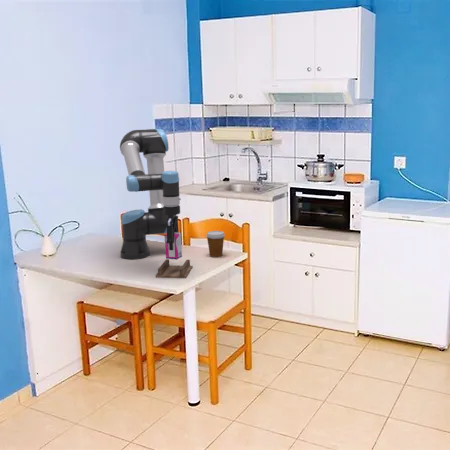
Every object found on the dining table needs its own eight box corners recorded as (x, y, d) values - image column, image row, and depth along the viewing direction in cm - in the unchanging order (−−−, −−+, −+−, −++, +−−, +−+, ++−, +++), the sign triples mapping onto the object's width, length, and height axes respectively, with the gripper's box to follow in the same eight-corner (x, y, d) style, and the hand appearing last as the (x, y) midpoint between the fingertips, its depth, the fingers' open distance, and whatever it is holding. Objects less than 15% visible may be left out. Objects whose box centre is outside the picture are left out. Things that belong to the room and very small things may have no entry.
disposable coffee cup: (218, 259, 282) (218, 235, 280) (203, 256, 287) (202, 233, 285) (228, 254, 290) (228, 231, 288) (213, 252, 295) (212, 229, 293)
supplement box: (171, 255, 264) (170, 231, 261) (182, 256, 261) (181, 232, 259) (165, 258, 258) (164, 234, 256) (176, 259, 256) (175, 235, 254)
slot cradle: (155, 277, 255) (155, 269, 254) (163, 267, 270) (163, 259, 270) (185, 278, 253) (185, 269, 252) (192, 267, 268) (192, 259, 268)
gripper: (175, 209, 245) (177, 260, 250) (184, 201, 264) (186, 249, 269) (158, 209, 246) (160, 260, 251) (168, 201, 265) (170, 249, 270)
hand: (173, 254), depth 260 cm, fingers closed on supplement box, 7 cm apart
